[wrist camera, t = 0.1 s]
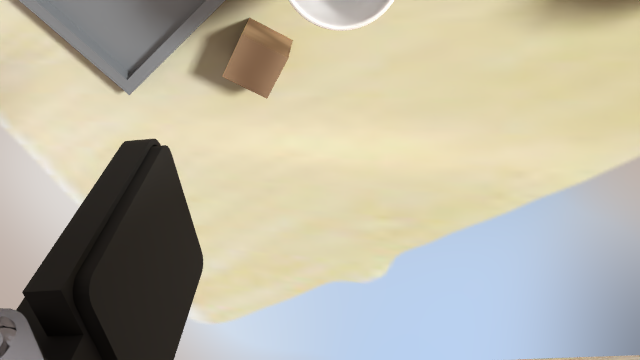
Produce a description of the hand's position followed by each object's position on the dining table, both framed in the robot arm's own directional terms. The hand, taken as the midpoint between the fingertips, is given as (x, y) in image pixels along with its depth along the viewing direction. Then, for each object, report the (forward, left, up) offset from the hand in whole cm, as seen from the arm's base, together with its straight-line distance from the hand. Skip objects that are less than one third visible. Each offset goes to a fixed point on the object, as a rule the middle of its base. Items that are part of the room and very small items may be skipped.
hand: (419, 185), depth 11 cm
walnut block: (+3, -14, -37) cm, 40 cm away
